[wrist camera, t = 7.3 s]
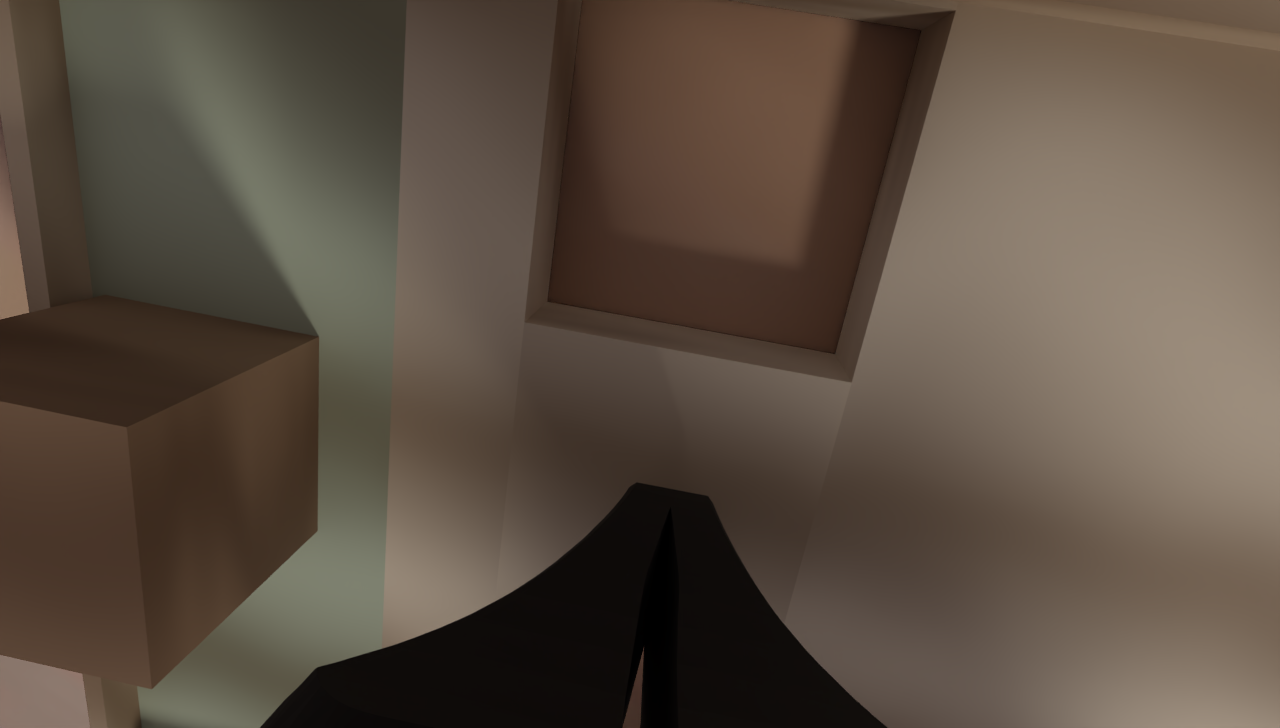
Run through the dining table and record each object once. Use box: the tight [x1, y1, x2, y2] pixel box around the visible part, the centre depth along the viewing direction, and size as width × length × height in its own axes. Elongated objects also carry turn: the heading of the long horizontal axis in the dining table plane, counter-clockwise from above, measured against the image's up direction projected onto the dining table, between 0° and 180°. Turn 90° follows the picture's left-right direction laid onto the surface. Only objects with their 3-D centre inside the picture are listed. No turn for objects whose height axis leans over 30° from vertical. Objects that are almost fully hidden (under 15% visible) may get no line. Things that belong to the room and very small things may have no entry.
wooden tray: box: [0, 0, 1280, 728], centre depth 12 cm, size 18×24×2 cm
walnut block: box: [0, 295, 319, 689], centre depth 10 cm, size 4×4×4 cm
